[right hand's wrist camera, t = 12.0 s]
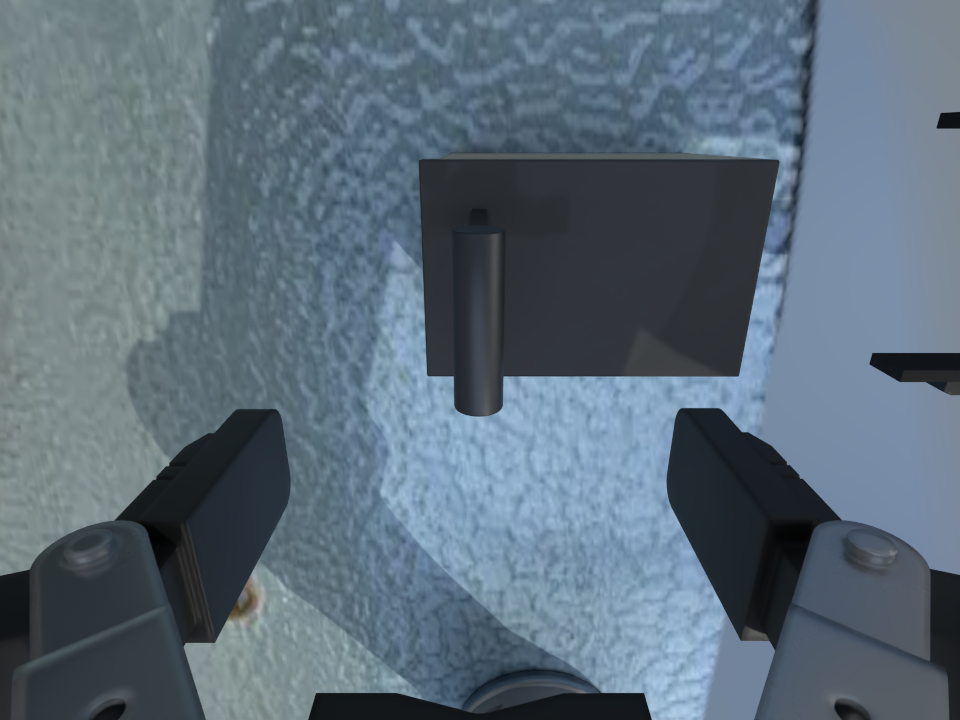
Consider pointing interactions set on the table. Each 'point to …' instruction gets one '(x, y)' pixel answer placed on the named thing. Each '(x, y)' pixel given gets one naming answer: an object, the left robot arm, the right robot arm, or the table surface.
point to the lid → (588, 268)
